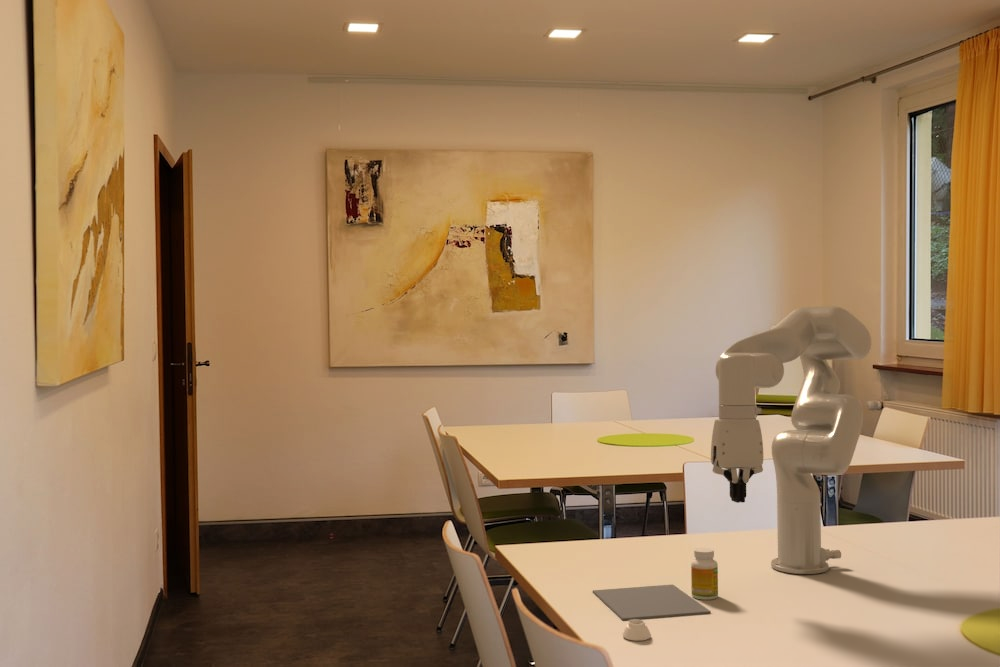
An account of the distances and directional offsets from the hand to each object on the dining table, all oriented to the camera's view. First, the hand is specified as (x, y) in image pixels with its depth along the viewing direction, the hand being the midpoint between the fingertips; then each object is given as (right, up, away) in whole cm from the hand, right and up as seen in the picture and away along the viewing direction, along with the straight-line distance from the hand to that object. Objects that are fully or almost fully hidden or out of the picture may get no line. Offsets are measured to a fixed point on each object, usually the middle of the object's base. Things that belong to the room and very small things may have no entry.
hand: (738, 501), depth 199 cm
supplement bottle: (-7, -20, -1) cm, 21 cm away
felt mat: (-19, -20, -4) cm, 28 cm away
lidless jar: (-25, -21, -26) cm, 41 cm away
